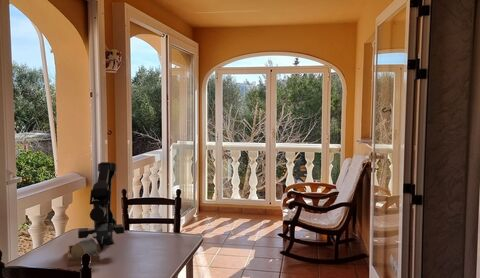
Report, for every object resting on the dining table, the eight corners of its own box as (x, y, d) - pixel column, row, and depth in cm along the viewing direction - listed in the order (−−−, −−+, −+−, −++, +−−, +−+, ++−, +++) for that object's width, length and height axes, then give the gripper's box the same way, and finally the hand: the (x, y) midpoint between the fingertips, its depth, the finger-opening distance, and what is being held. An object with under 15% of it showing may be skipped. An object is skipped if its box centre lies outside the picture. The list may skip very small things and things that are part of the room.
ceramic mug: (69, 259, 163) (69, 241, 162) (84, 253, 170) (84, 236, 170) (89, 263, 159) (89, 245, 158) (103, 257, 166) (103, 239, 166)
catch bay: (68, 252, 171) (67, 245, 171) (96, 248, 176) (96, 242, 176) (67, 266, 155) (67, 259, 155) (98, 262, 160) (98, 255, 160)
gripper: (78, 222, 156) (79, 259, 157) (125, 217, 164) (126, 253, 165) (77, 215, 167) (78, 251, 168) (122, 211, 174) (122, 245, 175)
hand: (101, 250), depth 169 cm, fingers closed
